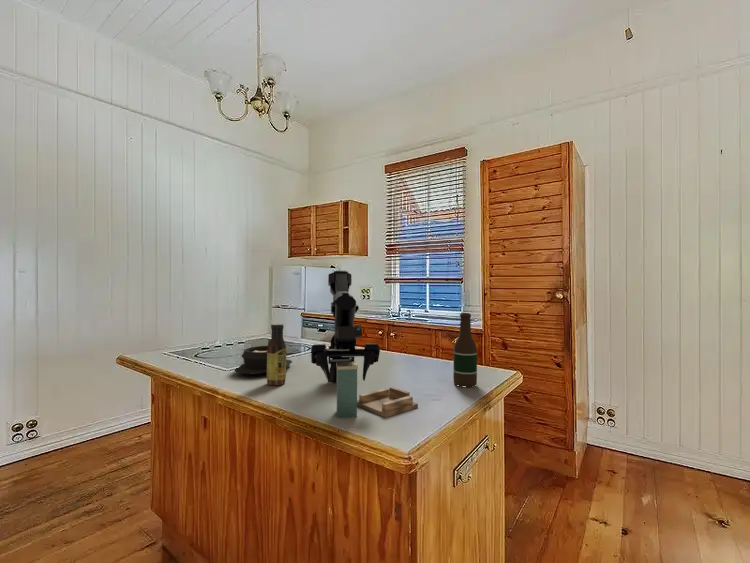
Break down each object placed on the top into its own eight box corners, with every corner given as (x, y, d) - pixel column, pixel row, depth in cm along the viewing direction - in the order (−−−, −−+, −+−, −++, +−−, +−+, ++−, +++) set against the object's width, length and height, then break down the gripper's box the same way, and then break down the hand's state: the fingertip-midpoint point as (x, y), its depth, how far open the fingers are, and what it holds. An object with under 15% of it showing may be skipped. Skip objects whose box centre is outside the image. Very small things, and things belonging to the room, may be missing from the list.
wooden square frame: (385, 396, 114) (386, 384, 114) (417, 407, 104) (417, 394, 104) (354, 404, 106) (354, 392, 106) (385, 417, 97) (385, 403, 97)
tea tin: (336, 410, 101) (336, 362, 101) (355, 410, 102) (355, 361, 102) (336, 417, 96) (337, 366, 96) (357, 417, 97) (357, 366, 97)
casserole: (264, 381, 131) (264, 356, 131) (221, 376, 137) (221, 352, 137) (303, 366, 154) (303, 345, 154) (265, 362, 161) (265, 342, 161)
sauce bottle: (280, 387, 123) (281, 325, 123) (263, 385, 125) (263, 325, 125) (289, 381, 130) (289, 323, 130) (272, 380, 131) (272, 323, 131)
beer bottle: (478, 383, 129) (479, 312, 129) (474, 389, 122) (475, 314, 122) (456, 380, 133) (456, 311, 133) (450, 386, 126) (451, 313, 126)
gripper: (311, 315, 104) (309, 363, 93) (379, 314, 106) (385, 362, 95) (312, 339, 112) (310, 387, 101) (375, 338, 114) (380, 385, 103)
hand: (346, 380), depth 100 cm, fingers open, 9 cm apart
